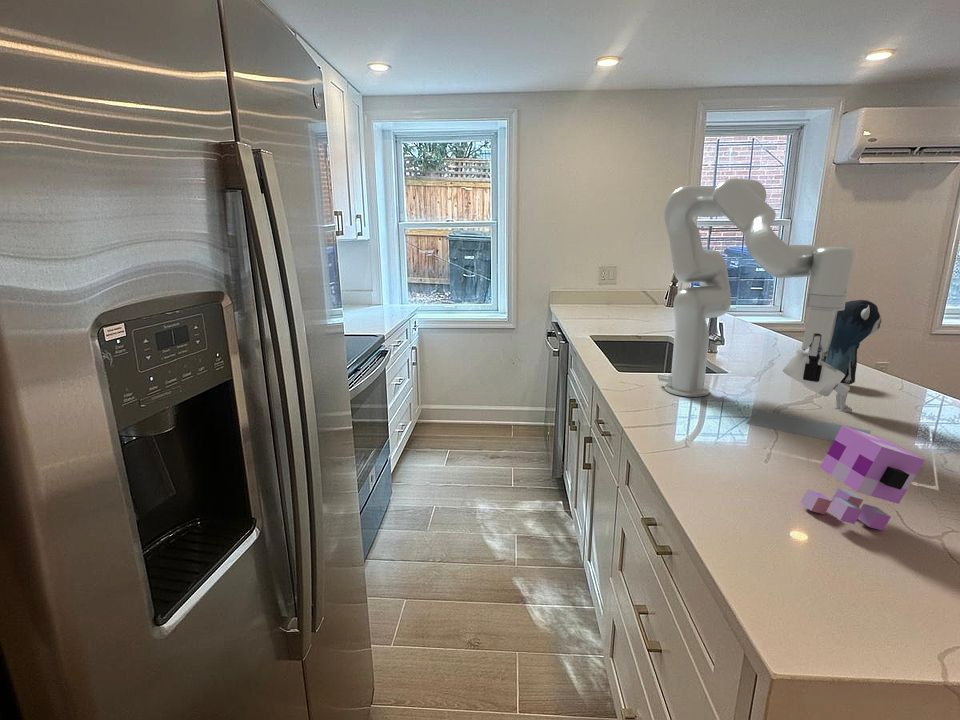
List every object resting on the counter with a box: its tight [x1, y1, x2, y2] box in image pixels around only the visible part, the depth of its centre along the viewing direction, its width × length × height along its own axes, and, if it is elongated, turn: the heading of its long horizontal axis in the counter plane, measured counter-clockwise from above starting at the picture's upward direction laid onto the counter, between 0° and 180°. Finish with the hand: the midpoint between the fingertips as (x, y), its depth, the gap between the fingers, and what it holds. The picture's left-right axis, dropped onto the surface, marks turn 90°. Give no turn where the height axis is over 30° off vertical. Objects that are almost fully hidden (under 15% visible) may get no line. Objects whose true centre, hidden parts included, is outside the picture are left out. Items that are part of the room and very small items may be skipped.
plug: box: [782, 349, 851, 397], centre depth 119 cm, size 13×4×6 cm, turn 51°
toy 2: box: [800, 425, 925, 531], centre depth 82 cm, size 11×8×15 cm
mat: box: [746, 409, 870, 442], centre depth 123 cm, size 24×13×1 cm, turn 50°
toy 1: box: [825, 299, 883, 413], centre depth 131 cm, size 14×11×30 cm
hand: (812, 377), depth 120 cm, fingers closed on plug, 3 cm apart
